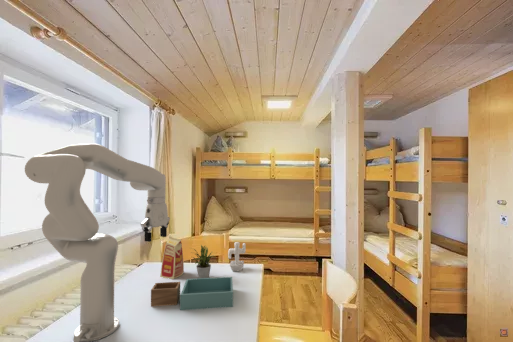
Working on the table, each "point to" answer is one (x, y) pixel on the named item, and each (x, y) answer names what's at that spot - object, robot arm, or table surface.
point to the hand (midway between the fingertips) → (156, 238)
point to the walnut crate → (165, 294)
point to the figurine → (236, 256)
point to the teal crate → (207, 293)
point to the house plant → (203, 263)
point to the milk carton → (172, 259)
